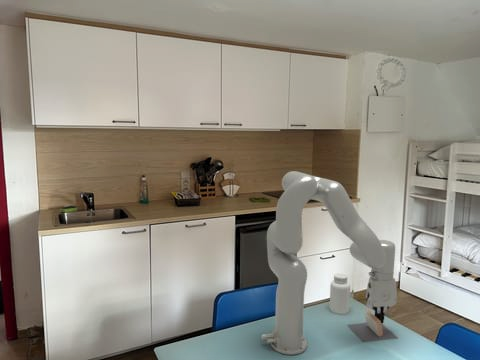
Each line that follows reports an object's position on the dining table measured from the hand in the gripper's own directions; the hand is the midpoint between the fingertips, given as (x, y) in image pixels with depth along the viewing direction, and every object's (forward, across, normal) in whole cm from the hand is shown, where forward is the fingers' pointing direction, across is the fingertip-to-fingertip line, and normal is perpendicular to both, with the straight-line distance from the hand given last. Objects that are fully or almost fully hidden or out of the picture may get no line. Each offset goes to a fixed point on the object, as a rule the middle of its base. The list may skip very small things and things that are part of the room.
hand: (379, 321), depth 137 cm
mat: (+4, -3, 0) cm, 5 cm away
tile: (+3, -1, 0) cm, 4 cm away
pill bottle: (+4, -7, +18) cm, 20 cm away
